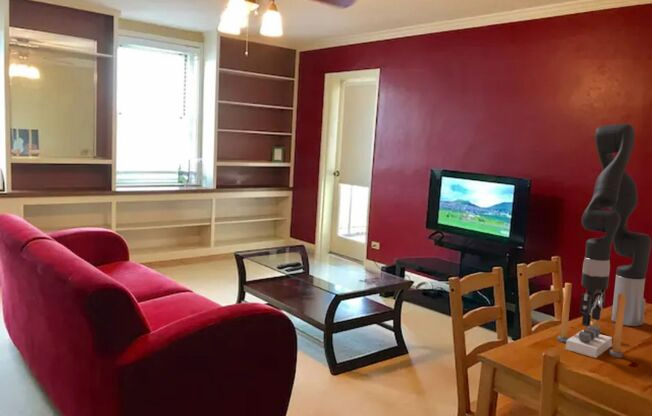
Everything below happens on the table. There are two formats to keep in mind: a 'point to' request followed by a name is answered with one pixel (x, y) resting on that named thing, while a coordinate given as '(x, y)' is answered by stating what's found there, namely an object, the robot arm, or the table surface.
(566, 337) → the post
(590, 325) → the paddle
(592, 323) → the figurine
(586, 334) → the paddle
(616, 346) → the post
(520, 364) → the table surface
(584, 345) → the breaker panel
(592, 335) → the paddle mid
